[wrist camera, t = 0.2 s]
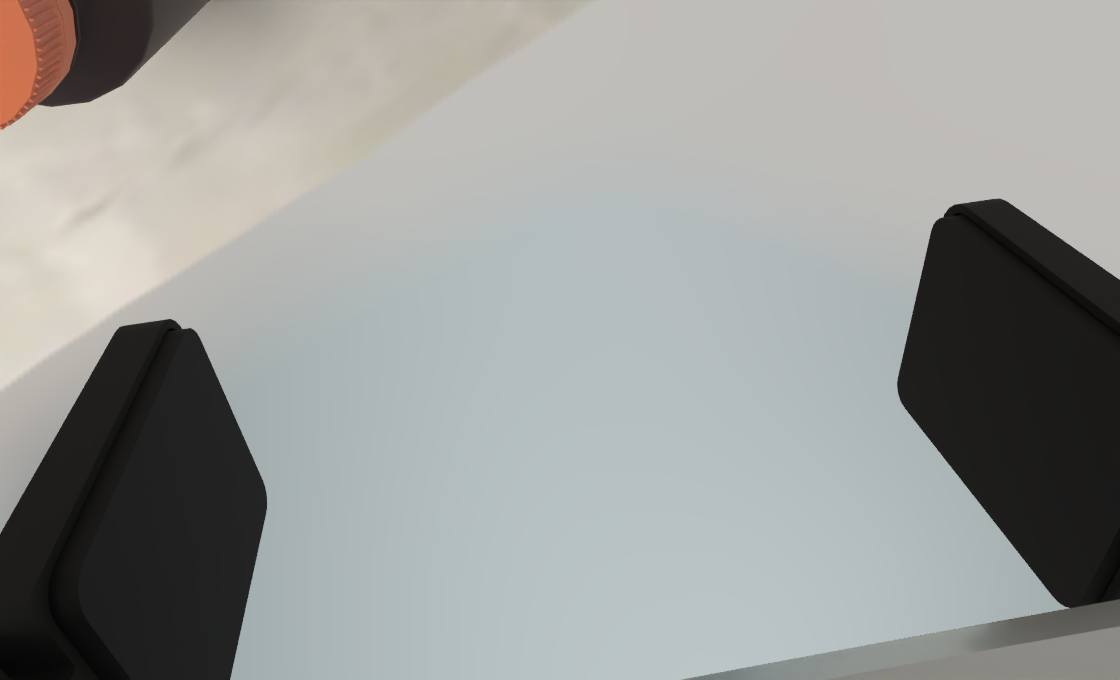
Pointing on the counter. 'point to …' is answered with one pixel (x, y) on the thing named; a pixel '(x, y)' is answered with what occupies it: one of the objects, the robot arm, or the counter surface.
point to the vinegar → (78, 47)
